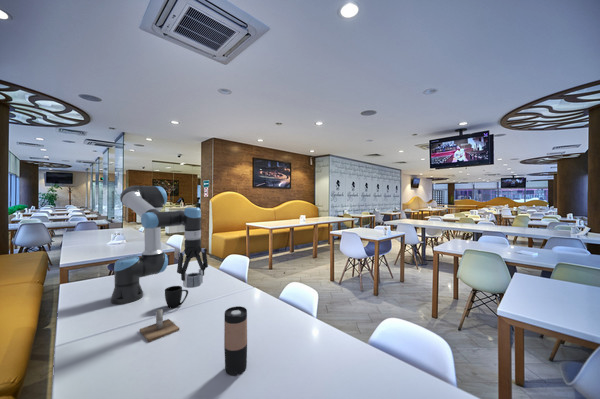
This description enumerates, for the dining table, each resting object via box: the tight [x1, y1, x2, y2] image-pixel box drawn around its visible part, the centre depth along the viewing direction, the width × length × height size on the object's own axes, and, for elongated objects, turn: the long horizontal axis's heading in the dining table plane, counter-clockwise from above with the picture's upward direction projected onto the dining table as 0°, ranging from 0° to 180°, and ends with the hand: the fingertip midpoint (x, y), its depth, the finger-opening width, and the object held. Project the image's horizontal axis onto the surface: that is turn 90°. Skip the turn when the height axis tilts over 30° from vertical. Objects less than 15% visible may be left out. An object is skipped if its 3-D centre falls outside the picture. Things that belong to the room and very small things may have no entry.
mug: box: [164, 285, 189, 309], centre depth 133 cm, size 8×12×10 cm
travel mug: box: [223, 305, 248, 377], centre depth 86 cm, size 8×8×20 cm
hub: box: [186, 272, 202, 289], centre depth 124 cm, size 7×7×5 cm
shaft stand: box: [139, 308, 180, 343], centre depth 109 cm, size 12×12×9 cm
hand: (193, 284), depth 124 cm, fingers closed on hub, 7 cm apart
